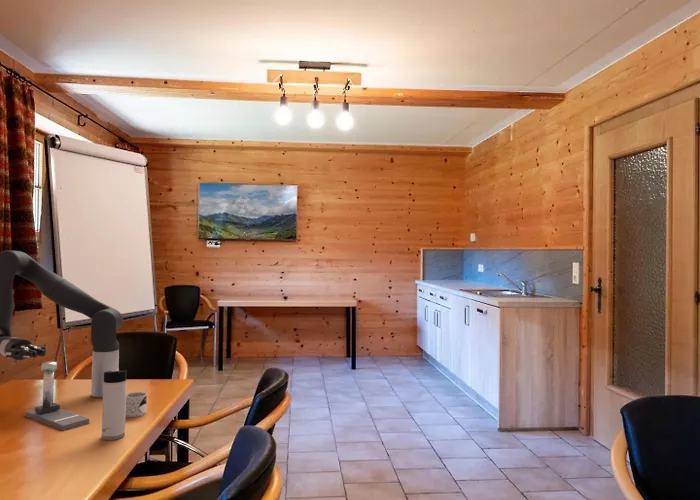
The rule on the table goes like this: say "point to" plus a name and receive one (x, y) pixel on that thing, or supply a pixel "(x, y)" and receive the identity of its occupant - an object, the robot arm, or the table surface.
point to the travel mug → (114, 405)
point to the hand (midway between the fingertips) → (39, 353)
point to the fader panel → (59, 418)
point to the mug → (136, 404)
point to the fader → (48, 388)
